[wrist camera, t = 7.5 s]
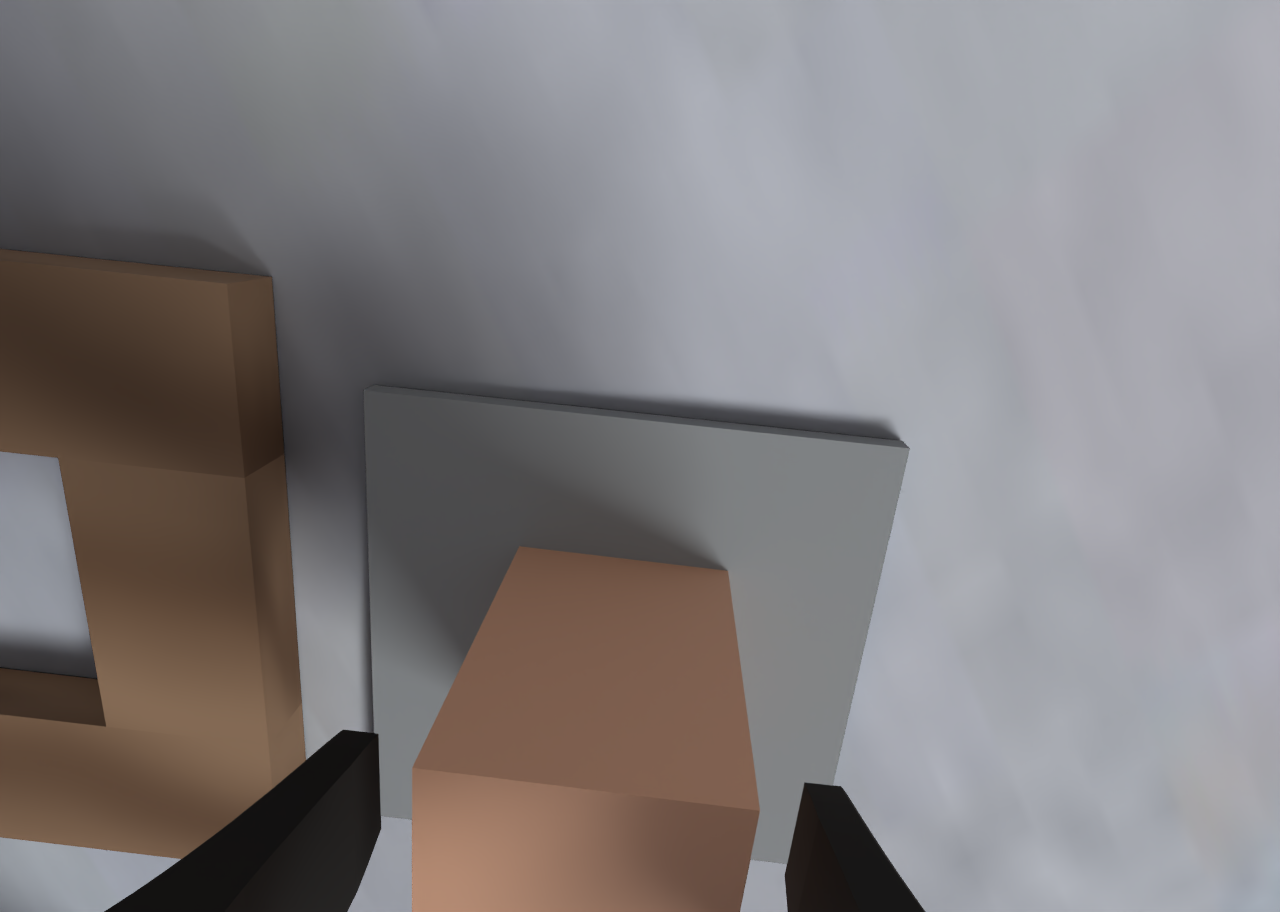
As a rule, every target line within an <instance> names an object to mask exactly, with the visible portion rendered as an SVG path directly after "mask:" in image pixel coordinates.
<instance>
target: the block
mask: <svg viewBox="0 0 1280 912" xmlns="http://www.w3.org/2000/svg"><path fill="white" fill-rule="evenodd" d="M759 814H760V806H759V798H758V791H757V783H756V776H755V768H754V761H753V754H752V746H751V739H750V731H749V724H748V716H747V709H746V701H745V694H744V686H743V679H742V671H741V664H740V656H739V649H738V641H737V634H736V626H735V619H734V611H733V604H732V596H731V589H730V581H729V574H728V571H725V570H717V569H708V568H700V567H691V566H683V565H674V564H666V563H657V562H649V561H640V560H632V559H623V558H615V557H606V556H598V555H589V554H581V553H572V552H564V551H555V550H547V549H538V548H530V547H521V546H519V548H518V550H517V552H516V554H515V556H514V558H513V560H512V563H511V565H510V567H509V569H508V571H507V573H506V575H505V577H504V579H503V581H502V583H501V585H500V587H499V589H498V591H497V593H496V596H495V598H494V600H493V602H492V604H491V606H490V608H489V610H488V612H487V614H486V616H485V618H484V620H483V622H482V624H481V626H480V629H479V631H478V633H477V635H476V637H475V639H474V641H473V643H472V645H471V647H470V649H469V651H468V653H467V655H466V657H465V660H464V662H463V664H462V666H461V668H460V670H459V672H458V674H457V676H456V678H455V680H454V682H453V684H452V686H451V688H450V690H449V693H448V695H447V697H446V699H445V701H444V703H443V705H442V707H441V709H440V711H439V713H438V715H437V717H436V719H435V721H434V724H433V726H432V728H431V730H430V732H429V734H428V736H427V738H426V740H425V742H424V744H423V746H422V748H421V750H420V752H419V754H418V757H417V759H416V761H415V763H414V765H413V767H412V912H740V908H741V903H742V898H743V893H744V888H745V884H746V879H747V874H748V869H749V864H750V859H751V854H752V849H753V844H754V839H755V834H756V829H757V824H758V819H759Z"/></svg>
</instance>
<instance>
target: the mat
mask: <svg viewBox="0 0 1280 912" xmlns="http://www.w3.org/2000/svg"><path fill="white" fill-rule="evenodd" d="M363 399H364V431H365V462H366V494H367V526H368V558H369V590H370V621H371V653H372V685H373V717H374V733H376V734H379V769H380V805H381V816H384V817H393V818H401V819H410V820H412V767H413V765H414V763H415V761H416V759H417V757H418V754H419V752H420V750H421V748H422V746H423V744H424V742H425V740H426V738H427V736H428V734H429V732H430V730H431V728H432V726H433V724H434V721H435V719H436V717H437V715H438V713H439V711H440V709H441V707H442V705H443V703H444V701H445V699H446V697H447V695H448V693H449V690H450V688H451V686H452V684H453V682H454V680H455V678H456V676H457V674H458V672H459V670H460V668H461V666H462V664H463V662H464V660H465V657H466V655H467V653H468V651H469V649H470V647H471V645H472V643H473V641H474V639H475V637H476V635H477V633H478V631H479V629H480V626H481V624H482V622H483V620H484V618H485V616H486V614H487V612H488V610H489V608H490V606H491V604H492V602H493V600H494V598H495V596H496V593H497V591H498V589H499V587H500V585H501V583H502V581H503V579H504V577H505V575H506V573H507V571H508V569H509V567H510V565H511V563H512V560H513V558H514V556H515V554H516V552H517V550H518V548H519V546H521V547H530V548H538V549H547V550H555V551H564V552H572V553H581V554H589V555H598V556H606V557H615V558H623V559H632V560H640V561H649V562H657V563H666V564H674V565H683V566H691V567H700V568H708V569H717V570H725V571H728V574H729V581H730V589H731V596H732V604H733V611H734V619H735V626H736V634H737V641H738V649H739V656H740V664H741V671H742V679H743V686H744V694H745V701H746V709H747V716H748V724H749V731H750V739H751V746H752V754H753V761H754V768H755V776H756V783H757V791H758V798H759V806H760V814H759V819H758V824H757V829H756V834H755V839H754V844H753V849H752V854H751V859H750V860H757V861H765V862H774V863H782V864H787V863H788V858H789V853H790V848H791V844H792V839H793V834H794V829H795V825H796V820H797V815H798V811H799V806H800V801H801V796H802V792H803V787H804V782H806V783H815V784H824V785H832V786H833V782H834V777H835V773H836V769H837V764H838V760H839V756H840V751H841V747H842V742H843V738H844V734H845V729H846V725H847V721H848V716H849V712H850V707H851V703H852V699H853V694H854V690H855V686H856V681H857V677H858V672H859V668H860V664H861V659H862V655H863V651H864V646H865V642H866V638H867V633H868V629H869V624H870V620H871V616H872V611H873V607H874V603H875V598H876V594H877V589H878V585H879V581H880V576H881V572H882V568H883V563H884V559H885V554H886V550H887V546H888V541H889V537H890V533H891V528H892V524H893V520H894V515H895V511H896V506H897V502H898V498H899V493H900V489H901V485H902V480H903V476H904V471H905V467H906V463H907V458H908V454H909V450H910V448H909V447H908V446H907V445H906V444H905V443H904V442H903V441H898V440H889V439H879V438H870V437H861V436H851V435H842V434H832V433H823V432H813V431H804V430H795V429H785V428H776V427H766V426H757V425H747V424H738V423H729V422H719V421H710V420H700V419H691V418H681V417H672V416H662V415H653V414H644V413H634V412H625V411H615V410H606V409H596V408H587V407H578V406H568V405H559V404H549V403H540V402H530V401H521V400H512V399H502V398H493V397H483V396H474V395H464V394H455V393H446V392H436V391H427V390H417V389H408V388H398V387H389V386H379V385H372V386H370V387H369V388H367V389H365V390H363Z"/></svg>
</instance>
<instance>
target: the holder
mask: <svg viewBox="0 0 1280 912" xmlns="http://www.w3.org/2000/svg"><path fill="white" fill-rule="evenodd" d="M0 451H2V452H11V453H20V454H29V455H38V456H48V457H57V458H58V459H59V465H60V471H61V476H62V482H63V487H64V493H65V499H66V504H67V510H68V515H69V521H70V526H71V532H72V538H73V543H74V549H75V554H76V560H77V566H78V571H79V577H80V582H81V588H82V594H83V599H84V605H85V610H86V616H87V622H88V627H89V633H90V638H91V644H92V649H93V655H94V661H95V666H96V672H97V677H98V679H90V678H82V677H73V676H64V675H56V674H47V673H38V672H30V671H21V670H12V669H4V668H0V837H3V838H12V839H20V840H28V841H37V842H45V843H53V844H62V845H70V846H78V847H87V848H95V849H103V850H112V851H120V852H128V853H137V854H145V855H153V856H162V857H170V858H178V859H182V858H184V857H185V856H186V855H188V854H189V853H190V852H192V851H193V850H194V849H196V848H197V847H198V846H200V845H201V844H202V843H204V842H205V841H206V840H208V839H209V838H211V837H212V836H213V835H215V834H216V833H217V832H219V831H220V830H221V829H223V828H224V827H225V826H226V825H228V824H229V823H230V822H231V821H233V820H234V819H235V818H236V817H238V816H239V815H240V814H241V813H243V812H244V811H245V810H246V809H248V808H249V807H250V806H251V805H253V804H254V803H255V802H256V801H258V800H259V799H260V798H261V797H263V796H264V795H265V794H266V793H268V792H269V791H270V790H271V789H272V788H274V787H275V786H276V785H277V784H278V783H280V782H281V781H282V780H283V779H284V778H286V777H287V776H288V775H289V774H290V773H292V772H293V771H294V770H295V769H296V768H298V767H299V766H300V765H301V764H302V763H303V762H305V761H306V756H305V741H304V727H303V713H302V699H301V684H300V670H299V656H298V642H297V627H296V613H295V599H294V585H293V570H292V556H291V542H290V528H289V513H288V499H287V485H286V471H285V456H284V442H283V428H282V414H281V400H280V385H279V371H278V357H277V343H276V328H275V314H274V300H273V286H272V277H268V276H259V275H249V274H239V273H229V272H220V271H210V270H200V269H191V268H181V267H171V266H162V265H152V264H142V263H133V262H123V261H113V260H104V259H94V258H84V257H74V256H65V255H55V254H45V253H36V252H26V251H16V250H7V249H0Z"/></svg>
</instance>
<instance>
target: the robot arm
mask: <svg viewBox="0 0 1280 912" xmlns="http://www.w3.org/2000/svg"><path fill="white" fill-rule="evenodd" d="M380 830H381V805H380V769H379V734H376V733H367V732H359V731H350V730H342V731H341V732H339V733H338V734H337V735H336V736H334V737H333V738H332V739H331V740H330V741H328V742H327V743H326V744H325V745H324V746H322V747H321V748H320V749H319V750H318V751H316V752H315V753H314V754H313V755H312V756H311V757H309V758H308V759H307V760H306V761H305V762H303V763H302V764H301V765H300V766H299V767H298V768H296V769H295V770H294V771H293V772H292V773H290V774H289V775H288V776H287V777H286V778H284V779H283V780H282V781H281V782H280V783H278V784H277V785H276V786H275V787H274V788H272V789H271V790H270V791H269V792H268V793H266V794H265V795H264V796H263V797H261V798H260V799H259V800H258V801H256V802H255V803H254V804H253V805H251V806H250V807H249V808H248V809H246V810H245V811H244V812H243V813H241V814H240V815H239V816H238V817H236V818H235V819H234V820H233V821H231V822H230V823H229V824H228V825H226V826H225V827H224V828H223V829H221V830H220V831H219V832H217V833H216V834H215V835H213V836H212V837H211V838H209V839H208V840H206V841H205V842H204V843H202V844H201V845H200V846H198V847H197V848H196V849H194V850H193V851H192V852H190V853H189V854H188V855H186V856H185V857H184V858H182V859H181V860H180V861H178V862H177V863H176V864H174V865H173V866H171V867H170V868H169V869H167V870H166V871H164V872H163V873H162V874H160V875H159V876H157V877H156V878H154V879H153V880H152V881H150V882H149V883H147V884H146V885H144V886H143V887H141V888H140V889H138V890H137V891H135V892H134V893H132V894H131V895H129V896H128V897H126V898H125V899H123V900H122V901H120V902H119V903H117V904H115V905H114V906H112V907H111V908H109V909H108V910H106V911H105V912H347V911H348V909H349V907H350V905H351V903H352V901H353V899H354V897H355V895H356V893H357V891H358V888H359V886H360V883H361V880H362V878H363V875H364V873H365V870H366V868H367V865H368V863H369V860H370V857H371V854H372V852H373V849H374V846H375V844H376V841H377V838H378V835H379V833H380ZM785 883H786V895H787V907H788V912H925V911H924V909H923V908H922V906H921V905H920V904H919V902H918V901H917V899H916V898H915V897H914V895H913V894H912V892H911V891H910V889H909V888H908V887H907V885H906V884H905V882H904V881H903V880H902V878H901V877H900V875H899V874H898V872H897V871H896V869H895V868H894V866H893V865H892V863H891V862H890V861H889V859H888V857H887V856H886V854H885V853H884V851H883V850H882V848H881V847H880V845H879V844H878V842H877V841H876V839H875V838H874V836H873V835H872V833H871V831H870V830H869V828H868V827H867V825H866V824H865V822H864V821H863V819H862V817H861V816H860V814H859V813H858V811H857V809H856V808H855V806H854V805H853V803H852V801H851V800H850V798H849V797H848V795H847V794H846V792H845V791H844V790H843V788H842V787H841V786H832V785H824V784H815V783H806V782H804V787H803V792H802V796H801V801H800V806H799V811H798V815H797V820H796V825H795V829H794V834H793V839H792V844H791V848H790V853H789V858H788V863H787V867H786V872H785Z"/></svg>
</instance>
